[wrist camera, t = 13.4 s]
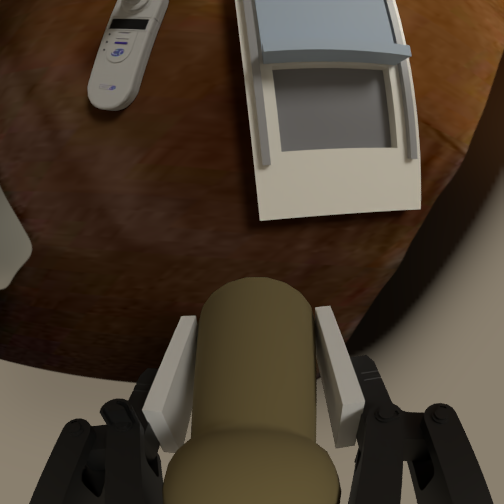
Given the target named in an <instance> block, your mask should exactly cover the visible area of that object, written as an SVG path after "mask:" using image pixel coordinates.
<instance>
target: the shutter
mask: <svg viewBox="0 0 504 504" xmlns="http://www.w3.org/2000/svg"><path fill="white" fill-rule="evenodd" d="M255 6H256V12H257V19H258V27H259V34H260V41H261V49H262V56H263V64H271V63H287V62H361V63H376V64H388V65H396V64H398V63H400V62H401V61H403V60H405V59H407V58H409V57H411V51H410V46H409V45H402V44H394V42H393V37H392V32H391V28H390V24H389V20H388V16H387V12H386V8H385V4H384V0H255Z"/></svg>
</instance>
